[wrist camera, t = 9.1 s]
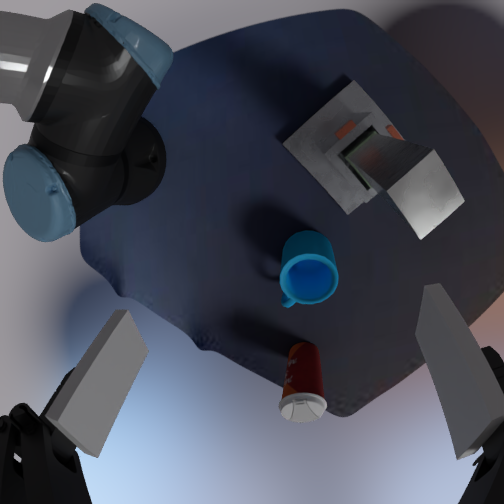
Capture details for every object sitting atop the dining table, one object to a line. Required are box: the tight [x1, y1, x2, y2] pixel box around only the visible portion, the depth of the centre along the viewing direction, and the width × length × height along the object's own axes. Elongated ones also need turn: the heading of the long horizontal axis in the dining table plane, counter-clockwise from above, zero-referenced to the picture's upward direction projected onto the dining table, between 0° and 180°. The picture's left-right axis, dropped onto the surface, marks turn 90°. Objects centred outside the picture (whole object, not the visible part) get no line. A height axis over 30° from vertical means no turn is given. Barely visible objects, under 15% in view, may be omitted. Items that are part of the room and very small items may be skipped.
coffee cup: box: [279, 342, 327, 423], centre depth 50 cm, size 8×8×15 cm
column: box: [340, 131, 464, 240], centre depth 23 cm, size 4×4×19 cm
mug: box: [280, 230, 339, 308], centre depth 44 cm, size 12×8×8 cm
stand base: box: [283, 80, 405, 214], centre depth 33 cm, size 14×14×12 cm
